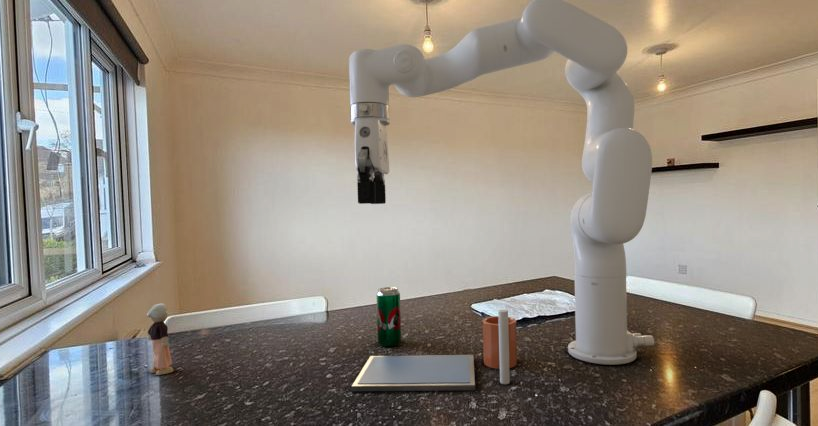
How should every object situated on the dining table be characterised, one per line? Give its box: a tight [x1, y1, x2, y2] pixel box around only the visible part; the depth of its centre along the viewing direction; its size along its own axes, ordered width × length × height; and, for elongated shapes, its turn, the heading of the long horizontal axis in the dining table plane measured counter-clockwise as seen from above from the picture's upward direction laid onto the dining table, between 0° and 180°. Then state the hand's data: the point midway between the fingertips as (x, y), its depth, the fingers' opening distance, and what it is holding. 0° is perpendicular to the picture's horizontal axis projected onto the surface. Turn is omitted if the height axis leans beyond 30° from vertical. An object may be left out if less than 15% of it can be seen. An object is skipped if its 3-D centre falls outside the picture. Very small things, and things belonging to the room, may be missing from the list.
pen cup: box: [482, 315, 518, 370], centre depth 80 cm, size 6×6×8 cm
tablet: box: [351, 354, 476, 393], centre depth 76 cm, size 20×14×1 cm
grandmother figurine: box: [145, 303, 175, 376], centre depth 81 cm, size 8×4×13 cm, turn 65°
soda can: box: [376, 286, 402, 348], centre depth 93 cm, size 5×5×12 cm
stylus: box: [497, 309, 511, 385], centre depth 71 cm, size 2×2×12 cm
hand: (372, 203), depth 84 cm, fingers open, 9 cm apart
